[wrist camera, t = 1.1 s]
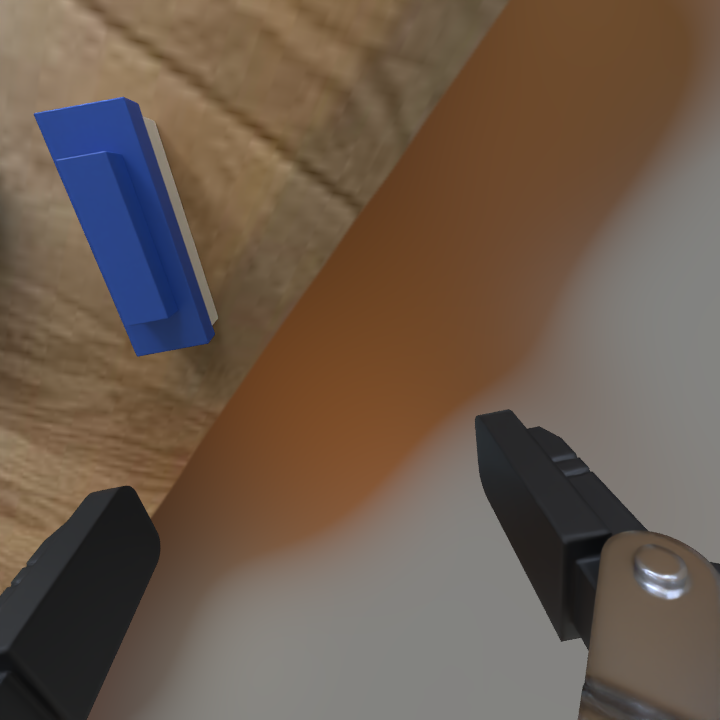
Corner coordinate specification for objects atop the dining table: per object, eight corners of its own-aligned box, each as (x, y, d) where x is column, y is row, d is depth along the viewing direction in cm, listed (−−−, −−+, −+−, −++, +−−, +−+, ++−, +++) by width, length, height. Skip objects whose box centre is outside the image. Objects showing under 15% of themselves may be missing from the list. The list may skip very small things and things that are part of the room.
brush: (78, 124, 25) (7, 106, 19) (155, 110, 25) (106, 88, 19) (160, 335, 30) (124, 368, 25) (223, 324, 30) (200, 354, 25)
